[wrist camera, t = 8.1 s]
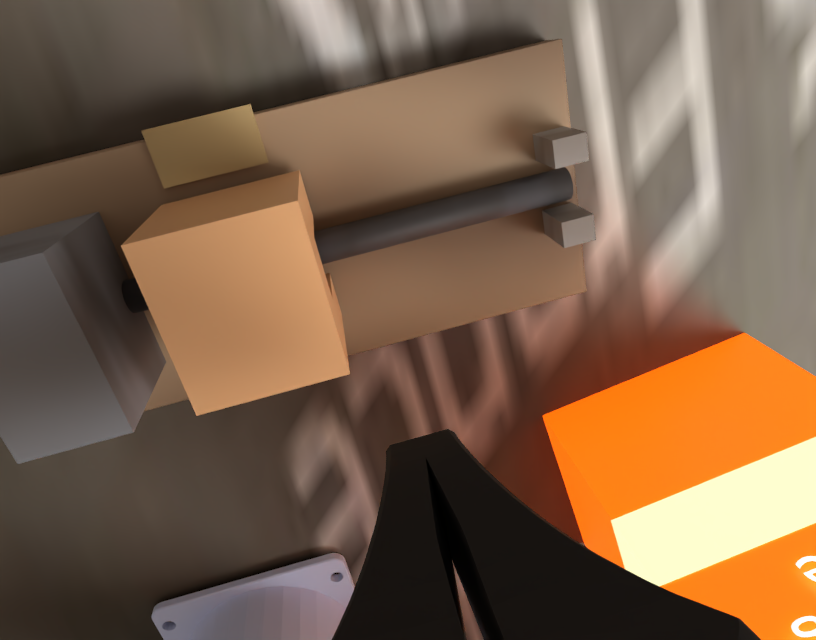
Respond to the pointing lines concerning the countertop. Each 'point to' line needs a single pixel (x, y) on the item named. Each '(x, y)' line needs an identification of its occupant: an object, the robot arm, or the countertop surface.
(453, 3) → the countertop surface
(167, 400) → the cord board
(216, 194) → the tan small block
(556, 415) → the orange juice
